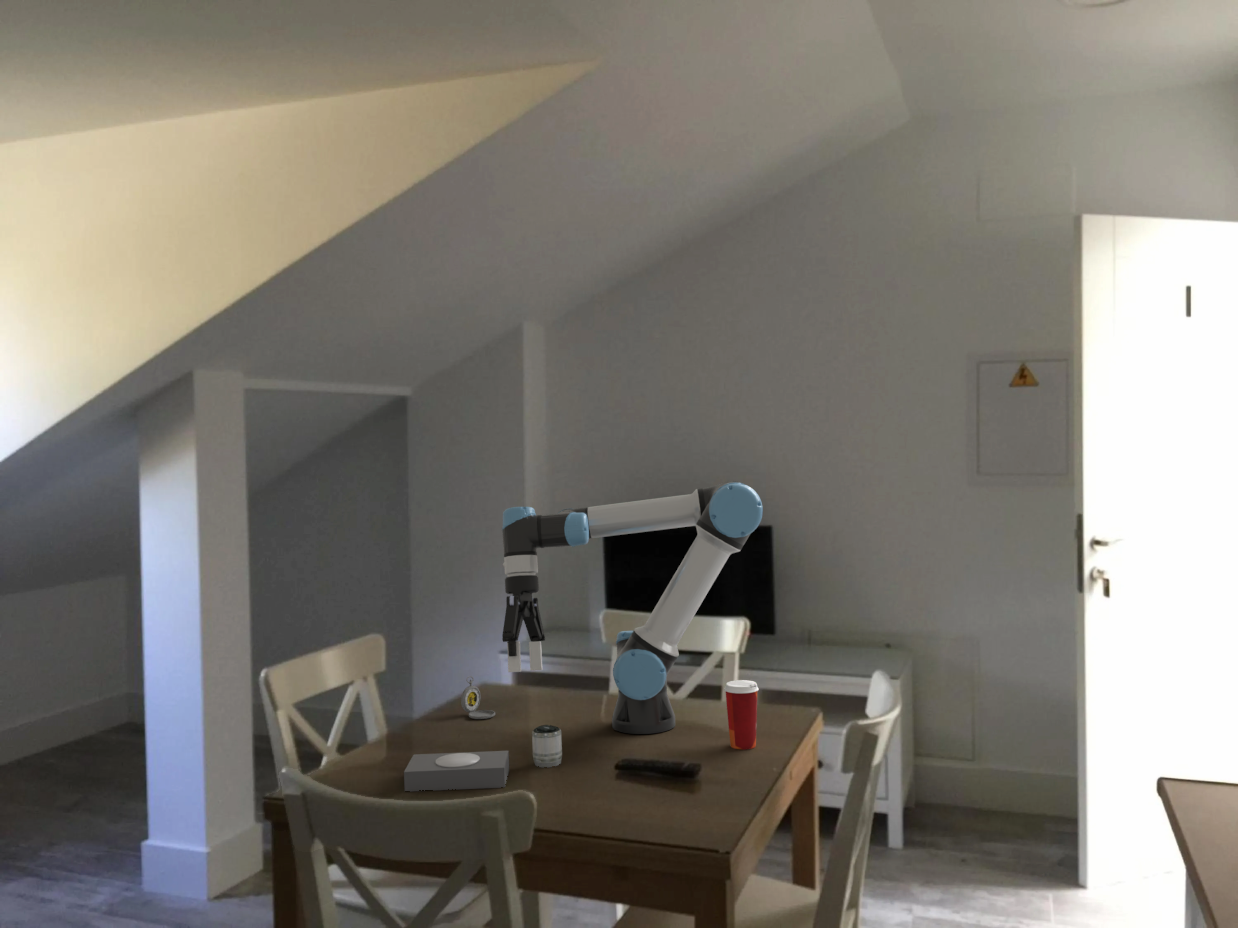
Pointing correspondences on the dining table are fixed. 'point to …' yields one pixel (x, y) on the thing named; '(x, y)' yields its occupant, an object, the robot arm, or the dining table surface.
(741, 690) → the paper cup
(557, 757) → the camera lens
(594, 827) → the dining table surface
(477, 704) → the pocket watch
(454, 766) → the box with white oval
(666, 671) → the robot arm
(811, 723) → the dining table surface
